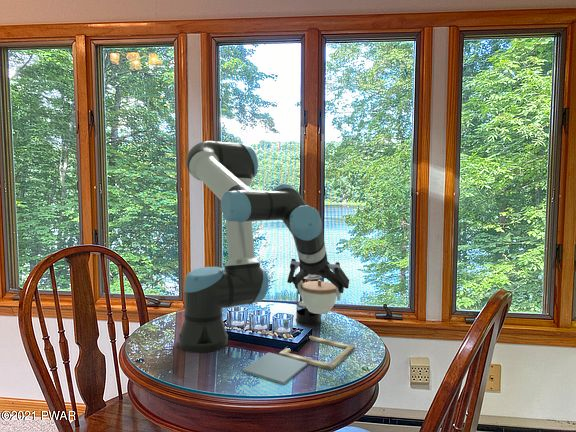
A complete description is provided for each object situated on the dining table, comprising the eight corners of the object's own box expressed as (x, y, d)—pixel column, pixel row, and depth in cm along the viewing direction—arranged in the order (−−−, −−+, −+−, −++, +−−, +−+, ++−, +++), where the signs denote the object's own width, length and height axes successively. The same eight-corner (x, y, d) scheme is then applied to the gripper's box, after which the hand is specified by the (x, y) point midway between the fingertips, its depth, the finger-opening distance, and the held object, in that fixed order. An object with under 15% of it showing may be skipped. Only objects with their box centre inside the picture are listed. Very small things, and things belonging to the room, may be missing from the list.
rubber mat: (242, 371, 110) (242, 369, 110) (268, 354, 121) (268, 352, 121) (283, 384, 103) (283, 382, 103) (307, 365, 114) (307, 362, 114)
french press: (319, 327, 144) (321, 263, 142) (293, 325, 146) (295, 261, 144) (322, 316, 156) (324, 257, 154) (298, 314, 157) (299, 255, 155)
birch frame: (279, 355, 120) (279, 352, 120) (305, 336, 135) (305, 334, 135) (331, 370, 112) (331, 367, 112) (354, 348, 126) (354, 346, 126)
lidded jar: (334, 318, 116) (336, 286, 115) (297, 314, 118) (298, 283, 117) (337, 307, 126) (338, 277, 125) (303, 303, 128) (304, 274, 127)
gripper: (267, 261, 109) (281, 301, 125) (354, 268, 103) (357, 309, 119) (273, 238, 113) (286, 280, 130) (357, 244, 107) (360, 287, 124)
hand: (320, 294), depth 124 cm, fingers closed on lidded jar, 11 cm apart
